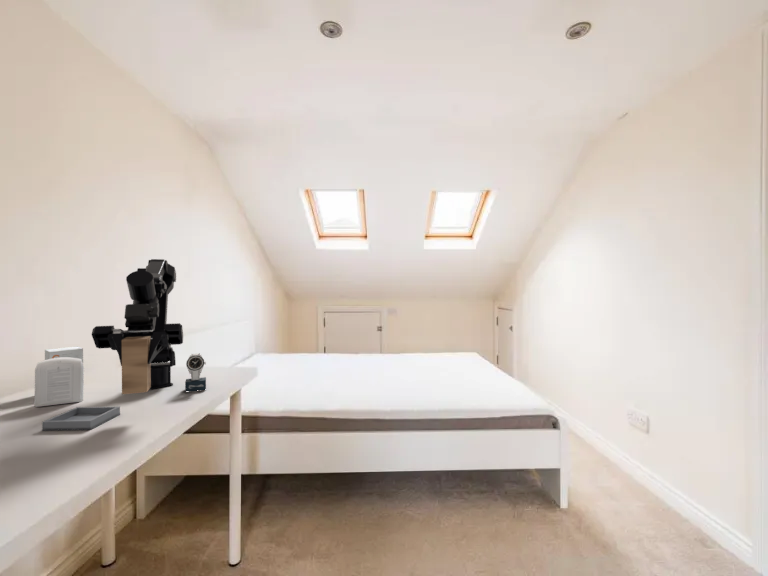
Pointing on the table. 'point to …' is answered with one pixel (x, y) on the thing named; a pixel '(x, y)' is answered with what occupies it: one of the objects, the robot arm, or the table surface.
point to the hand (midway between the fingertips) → (135, 363)
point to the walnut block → (136, 365)
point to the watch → (195, 373)
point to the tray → (80, 418)
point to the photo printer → (59, 381)
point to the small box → (64, 353)
